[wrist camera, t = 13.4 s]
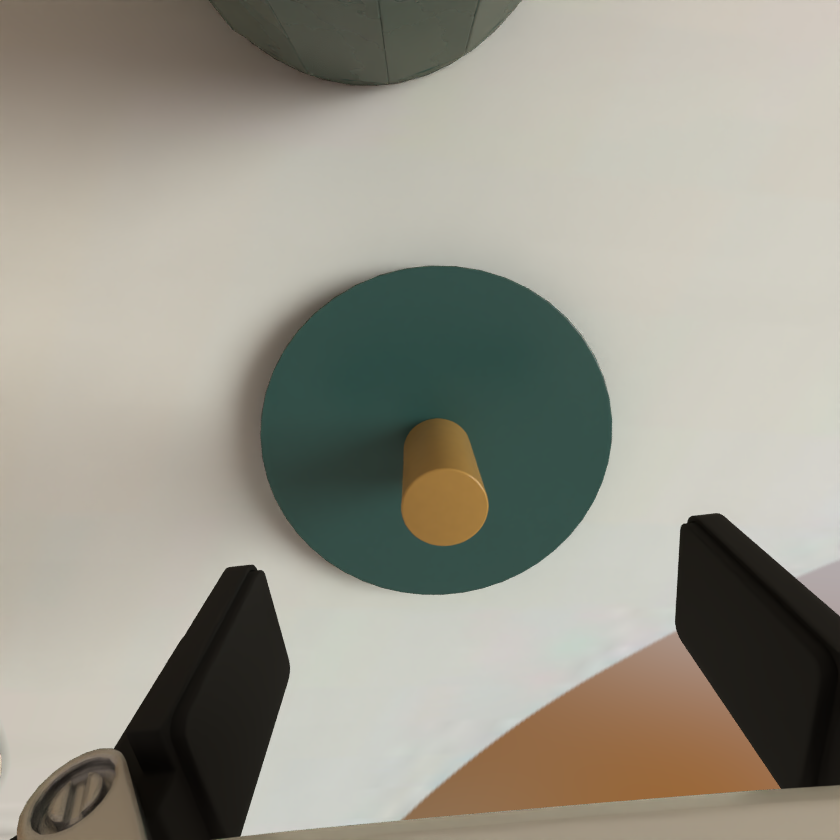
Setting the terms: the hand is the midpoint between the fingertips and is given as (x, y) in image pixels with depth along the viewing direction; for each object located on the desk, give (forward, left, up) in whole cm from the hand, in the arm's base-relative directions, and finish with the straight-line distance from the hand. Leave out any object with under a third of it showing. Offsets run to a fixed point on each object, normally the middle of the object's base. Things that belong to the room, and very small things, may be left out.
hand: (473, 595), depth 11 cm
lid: (-1, 0, -10) cm, 10 cm away
